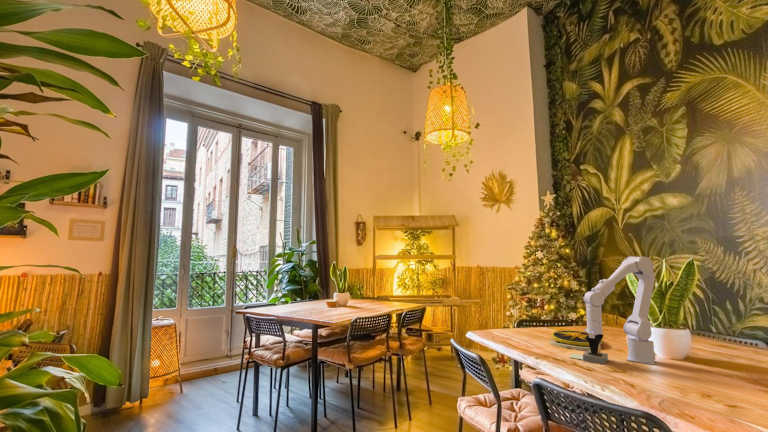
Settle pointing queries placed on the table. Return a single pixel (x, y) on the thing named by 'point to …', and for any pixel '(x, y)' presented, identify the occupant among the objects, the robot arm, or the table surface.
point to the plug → (598, 351)
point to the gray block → (595, 358)
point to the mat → (576, 356)
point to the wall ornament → (571, 339)
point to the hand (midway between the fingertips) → (595, 352)
